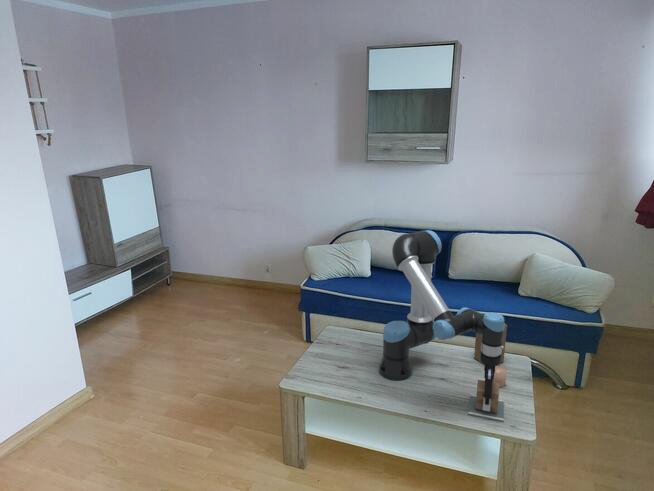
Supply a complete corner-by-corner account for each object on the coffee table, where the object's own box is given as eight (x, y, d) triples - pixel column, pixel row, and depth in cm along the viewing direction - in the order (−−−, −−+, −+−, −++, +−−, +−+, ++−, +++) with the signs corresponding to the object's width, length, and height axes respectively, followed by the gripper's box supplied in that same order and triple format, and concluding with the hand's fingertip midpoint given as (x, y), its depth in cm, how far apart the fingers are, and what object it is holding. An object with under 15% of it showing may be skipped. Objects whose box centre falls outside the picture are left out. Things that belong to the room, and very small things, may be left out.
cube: (475, 408, 171) (476, 390, 169) (476, 396, 179) (477, 379, 176) (497, 412, 169) (498, 394, 166) (497, 400, 176) (498, 383, 174)
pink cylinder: (489, 386, 189) (490, 371, 187) (489, 378, 195) (490, 364, 193) (505, 389, 187) (506, 374, 185) (505, 381, 192) (506, 366, 190)
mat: (468, 414, 170) (468, 412, 170) (470, 396, 182) (470, 394, 182) (503, 422, 166) (504, 420, 166) (503, 402, 178) (503, 400, 177)
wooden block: (489, 368, 203) (492, 329, 197) (473, 358, 211) (476, 320, 206) (504, 362, 207) (508, 324, 202) (488, 353, 216) (491, 316, 210)
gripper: (501, 368, 157) (496, 422, 163) (501, 341, 175) (496, 391, 182) (479, 364, 159) (475, 417, 165) (481, 338, 178) (477, 387, 184)
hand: (486, 403), depth 173 cm, fingers closed on cube, 8 cm apart
